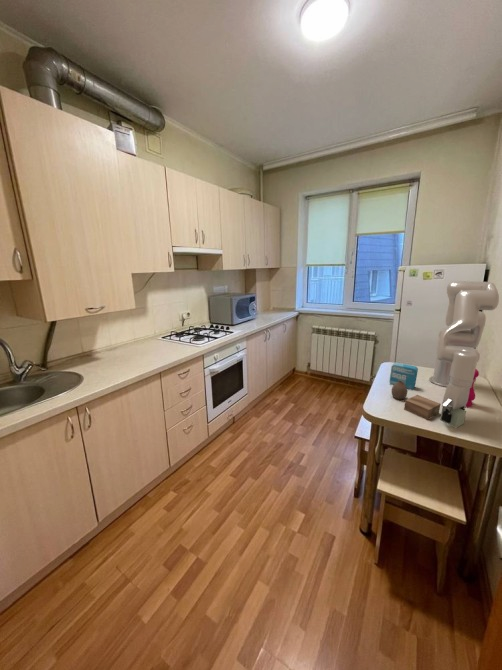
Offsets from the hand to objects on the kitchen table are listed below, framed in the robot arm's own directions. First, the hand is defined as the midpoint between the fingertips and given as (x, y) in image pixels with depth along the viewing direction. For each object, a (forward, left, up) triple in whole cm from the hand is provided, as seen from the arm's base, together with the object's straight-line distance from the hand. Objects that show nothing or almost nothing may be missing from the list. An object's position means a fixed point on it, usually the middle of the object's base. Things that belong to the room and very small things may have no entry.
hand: (452, 418), depth 111 cm
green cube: (0, 0, -2) cm, 2 cm away
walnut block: (+3, -11, -2) cm, 12 cm away
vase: (0, -24, -2) cm, 24 cm away
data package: (-14, -32, -2) cm, 35 cm away
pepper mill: (-22, -6, -2) cm, 23 cm away
